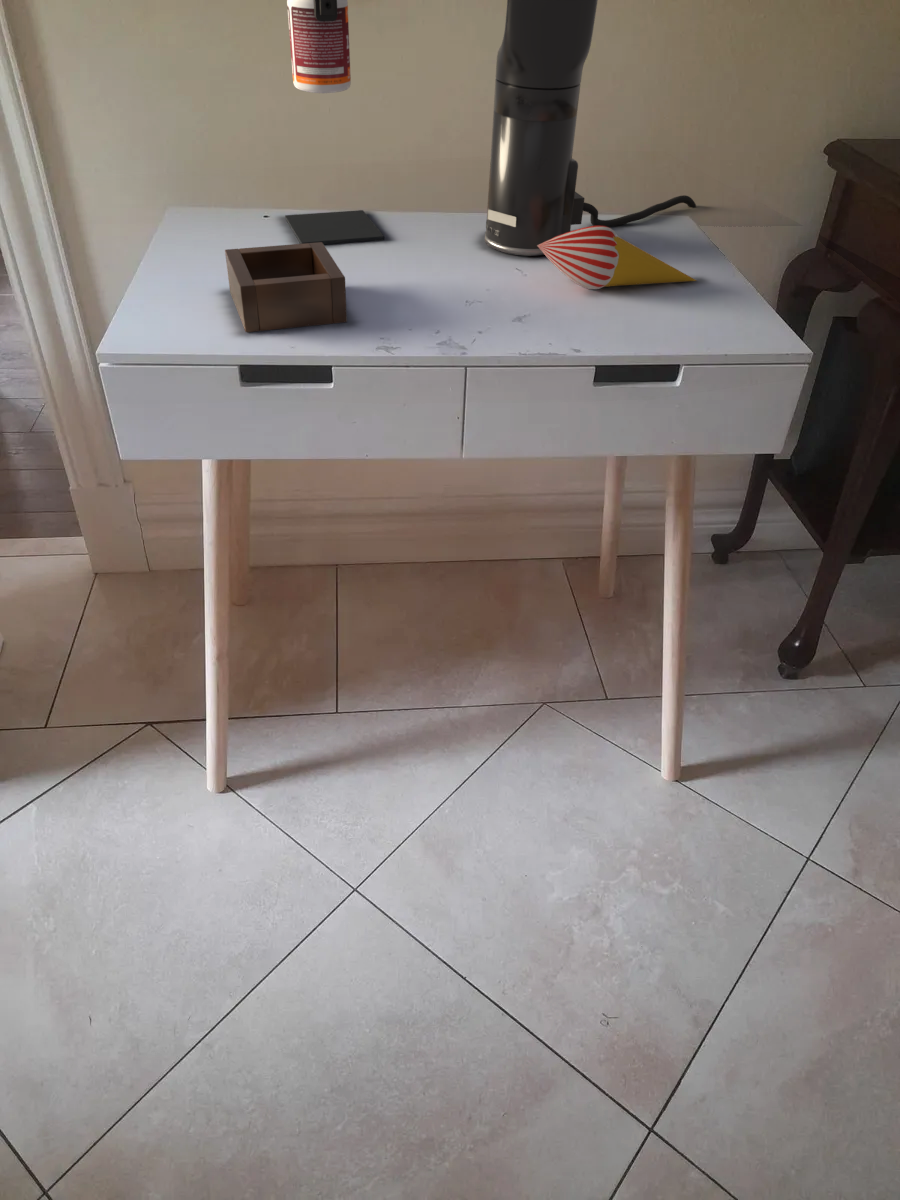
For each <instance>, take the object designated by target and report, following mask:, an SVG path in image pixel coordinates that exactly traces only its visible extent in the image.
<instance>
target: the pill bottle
mask: <svg viewBox="0 0 900 1200" xmlns="http://www.w3.org/2000/svg"><path fill="white" fill-rule="evenodd" d="M348 3H349V2H348V0H337V14H338V16H337V19H336V20H335V21H318V20H317V19H316V18H315V15H314V0H286V5H287V6H286V7H287V18H288V20H287V21H288V32H289V45H290V58H291V72H292V81H293V82H292V83H293V86H294V87H295V89H297V90H299V91H301V92H306V93H312V94H334V93H335V94H336V93H340V92H344V91H347V90H348V89H349V88H350V87H351V83H352V81H351V80H352V79H351V78H352V77H351V56H350V55H351V54H350V53H351V51H350V28H349V5H348Z"/></svg>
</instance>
